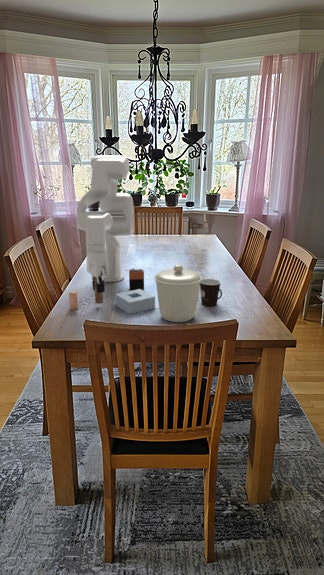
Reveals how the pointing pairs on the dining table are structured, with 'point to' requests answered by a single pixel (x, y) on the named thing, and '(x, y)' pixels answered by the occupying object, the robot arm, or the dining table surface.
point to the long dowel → (98, 295)
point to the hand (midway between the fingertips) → (98, 290)
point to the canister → (177, 293)
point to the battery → (136, 279)
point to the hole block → (134, 301)
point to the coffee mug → (210, 292)
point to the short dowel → (73, 300)
